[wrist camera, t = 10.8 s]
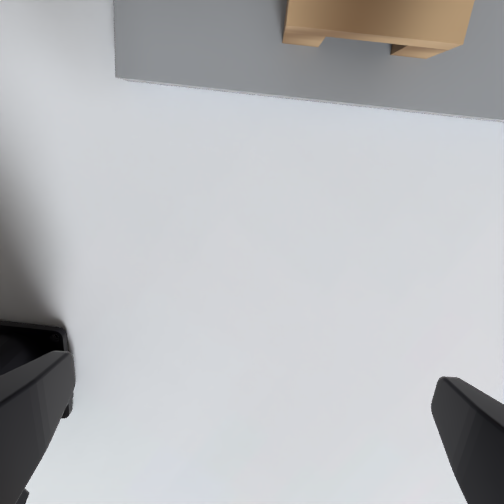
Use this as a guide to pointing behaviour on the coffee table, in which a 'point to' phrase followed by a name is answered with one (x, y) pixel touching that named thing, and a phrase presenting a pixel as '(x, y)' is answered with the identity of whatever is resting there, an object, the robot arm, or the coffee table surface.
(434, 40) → the board
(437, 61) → the slate dock
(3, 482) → the robot arm
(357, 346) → the coffee table surface
